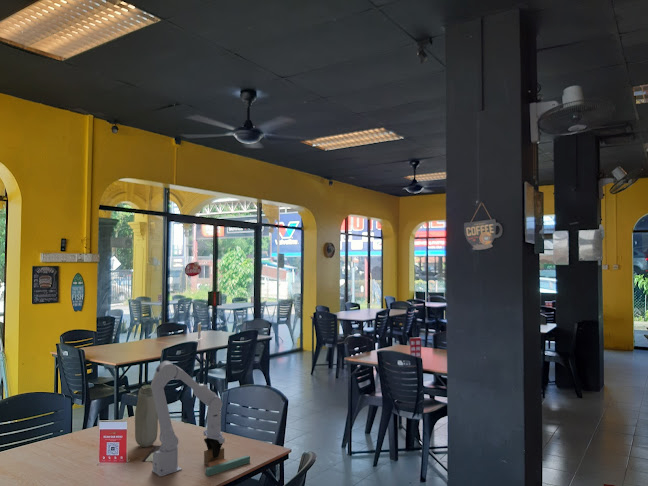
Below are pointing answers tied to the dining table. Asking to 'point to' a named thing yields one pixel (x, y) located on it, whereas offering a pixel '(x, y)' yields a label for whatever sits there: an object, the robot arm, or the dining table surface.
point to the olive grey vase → (146, 418)
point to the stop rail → (227, 465)
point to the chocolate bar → (151, 454)
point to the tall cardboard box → (209, 455)
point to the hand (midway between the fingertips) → (213, 456)
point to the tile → (217, 462)
